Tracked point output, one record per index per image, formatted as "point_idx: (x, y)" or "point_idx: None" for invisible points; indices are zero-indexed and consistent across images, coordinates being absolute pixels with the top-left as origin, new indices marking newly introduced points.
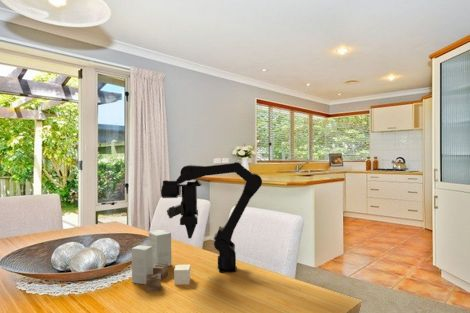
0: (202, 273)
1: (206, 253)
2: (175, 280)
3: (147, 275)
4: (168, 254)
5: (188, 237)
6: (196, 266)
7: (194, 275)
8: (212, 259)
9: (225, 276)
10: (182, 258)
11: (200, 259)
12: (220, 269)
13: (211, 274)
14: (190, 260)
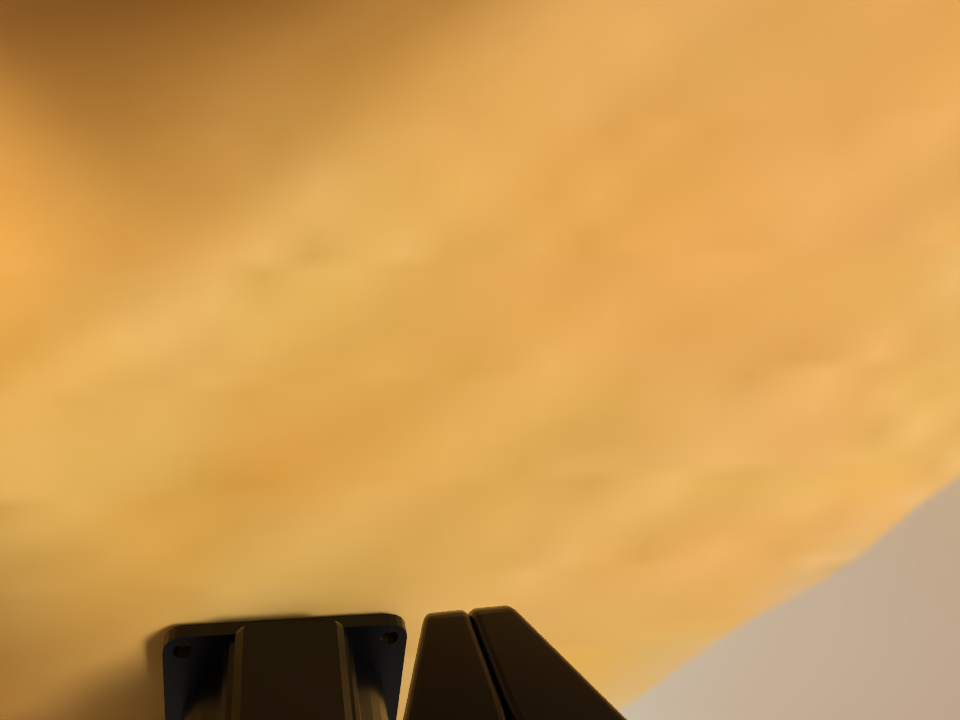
0: (144, 423)
1: (935, 441)
2: None
3: None
4: None
5: (420, 643)
6: (460, 327)
7: (56, 309)
8: (679, 522)
9: (22, 692)
10: (896, 85)
11: (737, 373)
12: (218, 650)
13: (99, 539)
14: (751, 226)
